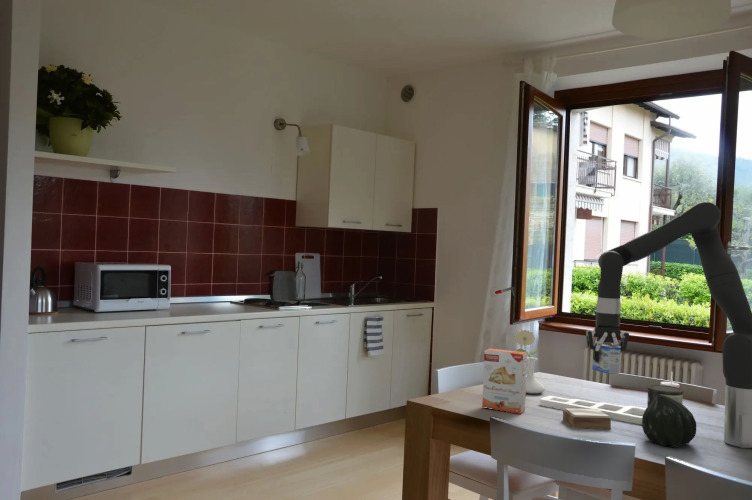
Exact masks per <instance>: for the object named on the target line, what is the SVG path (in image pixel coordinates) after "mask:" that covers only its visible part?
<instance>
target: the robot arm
mask: <svg viewBox="0 0 752 500" xmlns="http://www.w3.org/2000/svg"><path fill="white" fill-rule="evenodd" d="M721 213H722V212H721V209H720V208H719V207H718V206H717V205H716V204H715V203H714V202H709V201H702V202H697V203H695V205H693V206H691V207H690V208H689V209H687V210H686V211H684V212H683V213H681V214H680V215H678V216H677V217H675V218H673V219H672V220H670V221H668V222H666V223H665V224H662V225H660V226H658V227H656V228H654V229H652V230H650V231H647V232H645V233H643V234H641V235H639V236H636V237H635V238H632V239H631V240H629V241H628V242H625V243H624V244H621V245H619V246H617V247H614V248H611V249H609V250H607V251H604V252H603V253H601V254H600V256H599V257H598V260H597V261H598V266H599V268H600V277H599V282H598V285H597V300H596V308H595V328H594V329H592V330H589V329H587V330H585V336H586V337H585V338H586V346H587V348H588V349H591V350H592V351H593V352H592V361H593V360H594V361H595V362H599V349H600V347H601V345H602V344H604V343H610V344H611V346H614V347H618V348H620V352H622V351H626V350H627V345H628V342H629V338H630V333H629V332H626V331H621V328H620V326H621V307H622V305H621V285H622V284H621V281H622V276H623V271H624V267H625V266H627V265H629V264H630V263H633V262H634V263H635V262H639V261H641V260H643V259H646V258H647V257H649V256H651V255H654V254H656V253H658V252H659V251H661V250H663V249H665V247H667V246H670V244H672V243H674V242H675V241H677V240H679V239H680V238H683V237H685V236H687V235H690V236H691V237H692V240H693V242H694V244H695V247H696V248H697V251H698V254H699V259H700V264H701V268H702V271H703V274H704V277H705V281H706V284H707V287H708V290H709V293H710V295H711V297H712V299H713V300H714V302H715V303H716V305H717V306H718V308H720V310H721V311H722V312H723V313H724V315H725V316H726V317H727V319H728V321H729V323H730V327H731V330H732V332H733V333H732V334H728V336H727V337H726V338H725V339H724V342H723V343H722V344H723V345H722V353H721V354H722V374H723V377H724V380H725V391H724V392H725V393H724V421H723V422H724V424H723V425H724V426H723V428H724V433H723V442H724V443H726V444H728V445H731V446H735V447H739V448H741V449H752V309H751V306H750V303H749V300H748V297H747V295H746V292H745V289H744V286H743V282H742V280H741V279H742V278H741V276H740V274H739V271H738V269H737V267H736V264H735V262H734V261H733V260H732V258H731V256H730V255H729V253H728V252H727V251H726V249H725V247H724V245H723V242H722V239H721V236H720V232H719V231H720V230H719V222H720V221H721V216H722V214H721ZM594 336H596V339H595V341H594V340H593V338H594ZM619 336H620V338H621V339H620V343H619V341H618V338H619Z"/></svg>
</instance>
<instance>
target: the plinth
mask: <svg viewBox="0 0 752 500" xmlns="http://www.w3.org/2000/svg"><path fill="white" fill-rule="evenodd" d="M562 421H564V422H565V423H566V424H568V426H570V427H571V428H573V429H590V430H591V429H592V430H593V429H595V430H601V429H602V430H610V429H612V427H611V425H612V419H611V418H610V417H609V416H608V415H606V414H605V413H603V412H601V411H600V410H598V409H572V408H565V410H562Z"/></svg>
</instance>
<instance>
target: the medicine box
mask: <svg viewBox="0 0 752 500" xmlns="http://www.w3.org/2000/svg"><path fill="white" fill-rule="evenodd" d="M620 361H621V351H620V348H618V347H614V346H613V345H609V344H605V343H603V344H602V345H601V347H600V349H599V362H595V361H594V360H593V359H592V365H591V366H592V367H591V368H592V371H593V370H594V371H597V372H600V373H604V374H607V375H618V374H620Z"/></svg>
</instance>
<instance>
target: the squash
mask: <svg viewBox="0 0 752 500" xmlns="http://www.w3.org/2000/svg"><path fill="white" fill-rule="evenodd" d="M645 408H646V410H645V412H644V414H643V415H642V416H643V417H642V425H641V427H642V431H643V433H644V435H645V436H646V437H647V439H648V440H649V441H650V442H652V443H654V444H658V445H660V446H663V447H668V446H669V447H672V448H678V447H680V446H681V445H683V446H684V445H688V444H689V443H691V441H692V440H693V439H694V438H695V437H696V435H697V421H696V418H695V416H694V415H693V413H692V412H691V411H690V410H689V409H688V408H687V407H686V406H685V405H684V404H683V403H682V404H681V403H680V402H678V401H676V400H674V399H672V398H670V397H667V396H664V395H660V394H659V395H658V396H657V397H656V398H655V399H654V401H653V402H652V403H651V404H650V405H649V406H648V407H645Z"/></svg>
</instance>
